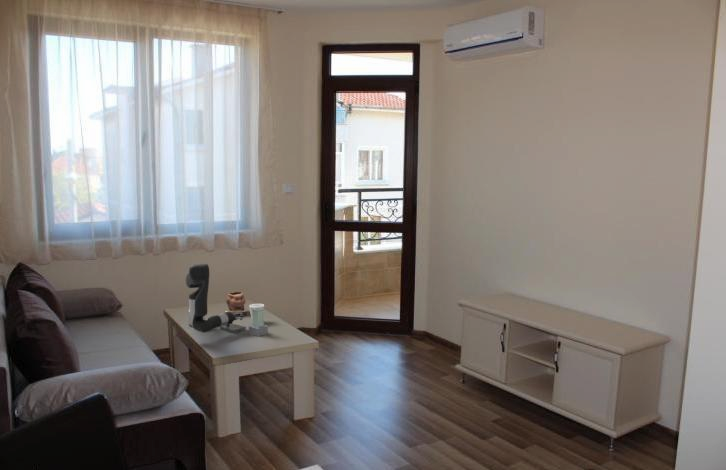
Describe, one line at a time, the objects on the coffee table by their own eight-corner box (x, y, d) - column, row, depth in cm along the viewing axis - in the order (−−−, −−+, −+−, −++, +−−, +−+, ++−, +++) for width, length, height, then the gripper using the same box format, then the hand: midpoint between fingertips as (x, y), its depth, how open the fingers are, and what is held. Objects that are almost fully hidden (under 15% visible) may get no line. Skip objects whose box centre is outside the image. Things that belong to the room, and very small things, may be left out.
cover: (258, 328, 367) (257, 310, 365) (252, 327, 370) (252, 309, 368) (263, 326, 371) (263, 309, 369) (258, 325, 373) (258, 307, 372)
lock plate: (220, 329, 379) (220, 326, 378) (231, 326, 386) (231, 323, 385) (234, 333, 371) (234, 330, 370) (245, 329, 378) (245, 326, 378)
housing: (258, 336, 365) (258, 328, 365) (248, 333, 370) (248, 326, 369) (267, 333, 372) (267, 325, 371) (258, 330, 376) (258, 323, 376)
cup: (261, 324, 389) (261, 307, 388) (246, 323, 391) (246, 307, 390) (267, 320, 399) (266, 304, 398) (252, 319, 401) (252, 303, 400)
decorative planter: (221, 310, 423) (220, 291, 421) (237, 308, 430) (237, 288, 428) (233, 317, 407) (233, 296, 405) (250, 314, 414) (250, 294, 412)
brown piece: (224, 325, 379) (224, 311, 378) (225, 324, 382) (225, 310, 381) (245, 325, 379) (245, 311, 378) (246, 324, 382) (246, 310, 381)
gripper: (231, 314, 361) (253, 309, 374) (216, 311, 368) (238, 305, 382) (231, 327, 362) (253, 320, 375) (216, 323, 369) (238, 317, 383)
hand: (245, 313), depth 379 cm, fingers closed
